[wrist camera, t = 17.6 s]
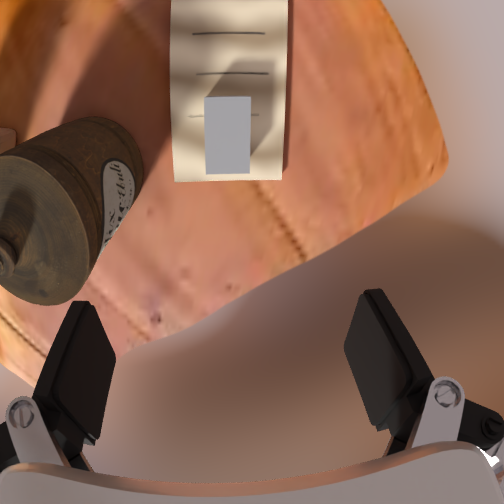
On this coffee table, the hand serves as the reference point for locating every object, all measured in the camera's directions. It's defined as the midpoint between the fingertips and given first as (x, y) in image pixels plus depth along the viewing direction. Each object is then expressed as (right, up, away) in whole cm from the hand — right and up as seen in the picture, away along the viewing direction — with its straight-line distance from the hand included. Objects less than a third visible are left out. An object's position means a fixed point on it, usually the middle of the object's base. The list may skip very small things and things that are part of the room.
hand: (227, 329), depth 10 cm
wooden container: (-20, +13, +24) cm, 34 cm away
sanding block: (-2, +17, +22) cm, 28 cm away
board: (-2, +22, +20) cm, 30 cm away
